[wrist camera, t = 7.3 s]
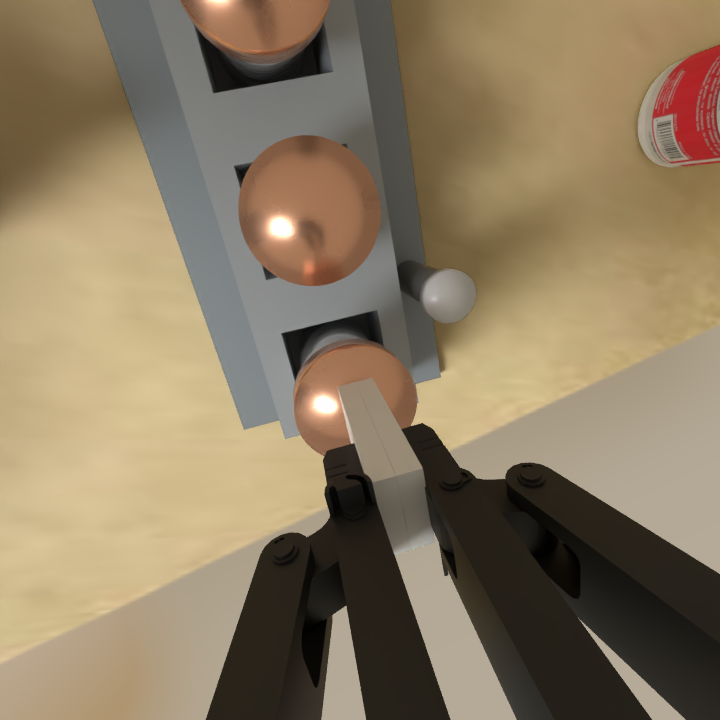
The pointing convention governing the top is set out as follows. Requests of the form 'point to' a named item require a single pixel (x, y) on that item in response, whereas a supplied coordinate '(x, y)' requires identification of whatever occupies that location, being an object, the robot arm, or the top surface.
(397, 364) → the knob
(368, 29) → the mount
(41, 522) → the top surface
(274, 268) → the knob mid
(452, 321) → the pot post
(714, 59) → the pill bottle
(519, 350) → the top surface
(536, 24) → the top surface
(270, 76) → the knob
